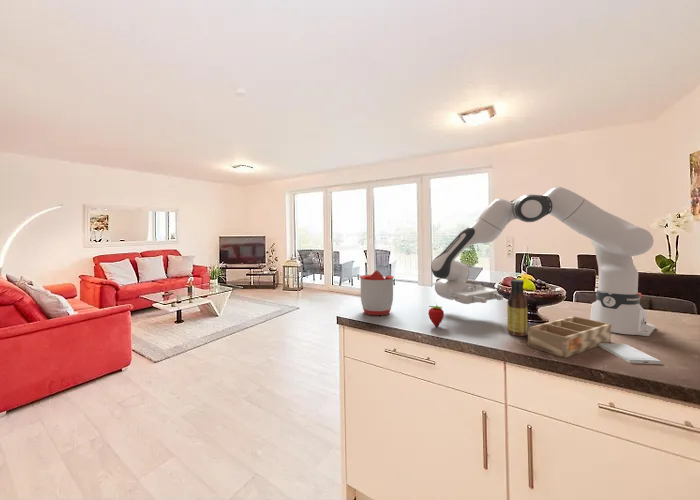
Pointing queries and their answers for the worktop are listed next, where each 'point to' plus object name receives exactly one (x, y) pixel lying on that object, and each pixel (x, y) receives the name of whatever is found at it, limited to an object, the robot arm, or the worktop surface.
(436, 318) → the strawberry
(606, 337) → the condiment caddy
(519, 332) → the sauce bottle
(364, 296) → the citrus juicer
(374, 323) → the worktop surface
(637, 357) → the hard drive
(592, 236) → the robot arm
